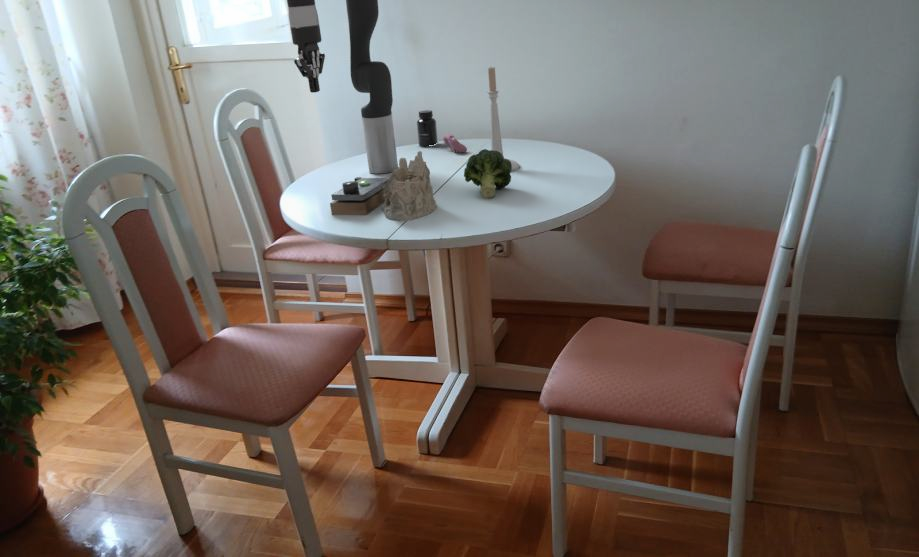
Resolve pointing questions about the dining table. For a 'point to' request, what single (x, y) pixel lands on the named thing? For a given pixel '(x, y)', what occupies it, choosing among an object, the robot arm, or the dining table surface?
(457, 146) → the pink shoe
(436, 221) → the dining table surface
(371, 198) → the brown boxy piece
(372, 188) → the plate
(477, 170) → the vegetable
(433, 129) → the supplement bottle
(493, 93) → the candlestick
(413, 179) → the miniature castle
